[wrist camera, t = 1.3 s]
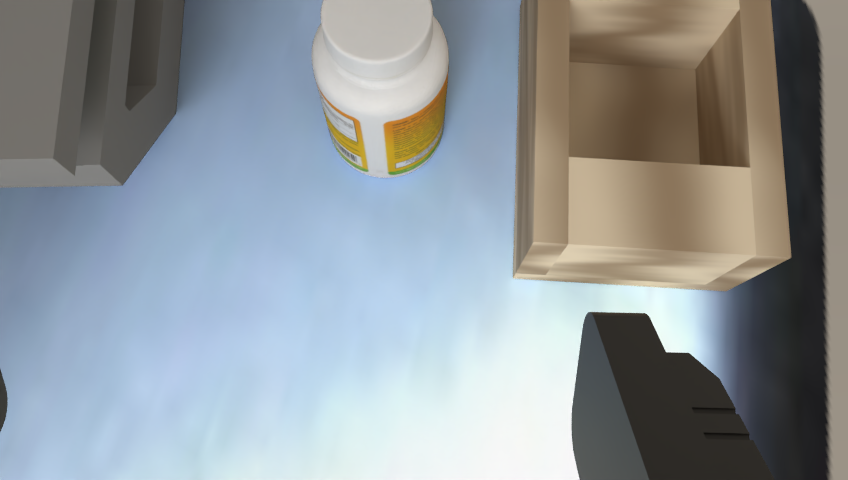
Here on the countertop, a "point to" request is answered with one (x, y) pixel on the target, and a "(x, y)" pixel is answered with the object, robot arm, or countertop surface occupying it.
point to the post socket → (648, 143)
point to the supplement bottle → (382, 82)
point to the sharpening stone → (84, 88)
